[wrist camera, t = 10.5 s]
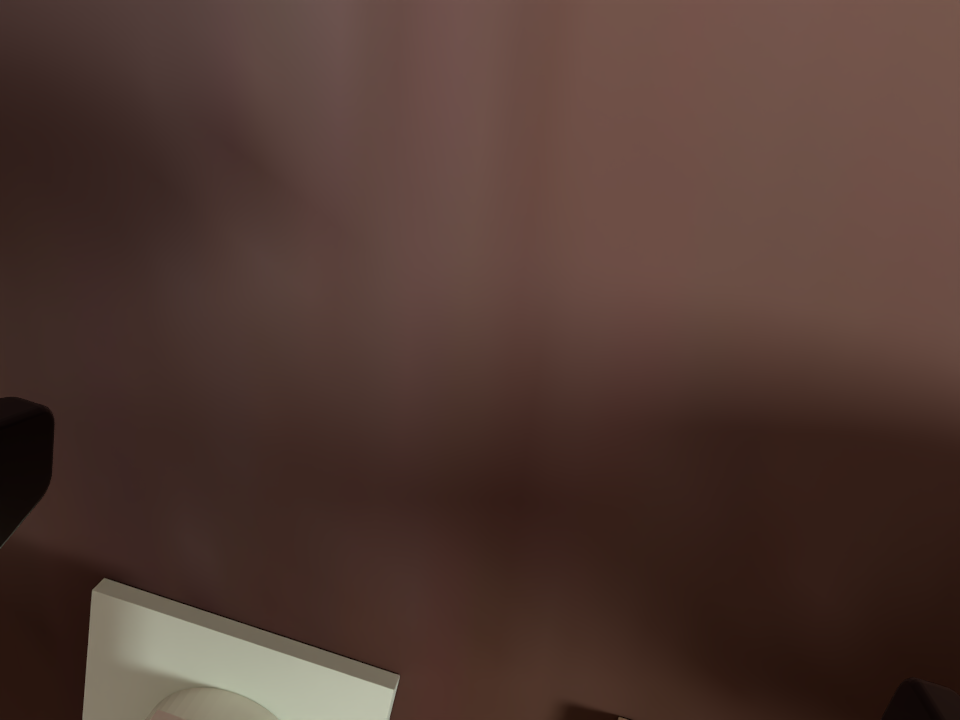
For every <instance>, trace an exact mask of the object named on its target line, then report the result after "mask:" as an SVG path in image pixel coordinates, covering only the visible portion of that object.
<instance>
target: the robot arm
mask: <svg viewBox="0 0 960 720" xmlns="http://www.w3.org/2000/svg"><path fill="white" fill-rule="evenodd" d="M54 425H55V424H54V416H53V413H52V412H51V410H50V409H49V408H48V407H46V406H44V405H41V404H37V403H34V402H31V401H28V400H25V399H21V398H18V397H5V398H0V549H1V547H2V546H3V545H4V544H5V542H6V541H7V540H8V539H9V538H10V536H11V535H12V534H13V533H14V532H15V530H16V529H17V528H18V527H19V525H20V524H21V523H22V522H23V521H24V519H25V518H26V517H27V516H28V515H29V513H30V512H31V511H32V510H33V508H34V507H35V506H36V505H37V504H38V502H39V501H40V500H41V499H42V497H43V496H44V494H45V492H46V491H47V489H48V486H49V484H50V480H51V476H52V464H53V444H54ZM881 720H960V696H959V695H958V694H957V693H956V692H955V691H953V690H951V689H949V688H947V687H944V686H941V685H938V684H935V683H931V682H928V681H925V680H922V679H918V678H914V677H912V678H908V679H905V680H904V681H903V682H902V683H901V684H900V685H899V687H898V688H897V690H896V692H895V693H894V695H893V697H892V699H891V701H890V703H889V705H888V707H887V708H886V710H885V712H884V714H883V716H882V718H881Z"/></svg>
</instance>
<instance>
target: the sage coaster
mask: <svg viewBox="0 0 960 720" xmlns="http://www.w3.org/2000/svg"><path fill="white" fill-rule="evenodd" d="M399 678H400V675H397V674H394V673H391V672H388V671H385V670H382V669H379V668H376V667H373V666H370V665H367V664H364V663H361V662H358V661H355V660H352V659H349V658H346V657H343V656H340V655H337V654H334V653H331V652H328V651H325V650H322V649H318V648H315V647H312V646H309V645H306V644H303V643H300V642H297V641H294V640H291V639H288V638H285V637H282V636H279V635H276V634H273V633H270V632H267V631H264V630H261V629H258V628H255V627H252V626H249V625H246V624H243V623H240V622H236V621H233V620H230V619H227V618H224V617H221V616H218V615H215V614H212V613H209V612H206V611H203V610H200V609H197V608H194V607H191V606H188V605H185V604H182V603H179V602H176V601H173V600H170V599H167V598H164V597H161V596H157V595H154V594H151V593H148V592H145V591H142V590H139V589H136V588H133V587H130V586H127V585H124V584H121V583H118V582H115V581H112V580H109V579H106V578H104V579H103V580H102V581H101V582H100V583H99V584H98V585H97V586H96V587H95V588H94V589H93V590H92V598H91V611H90V625H89V638H88V651H87V665H86V678H85V691H84V705H83V718H82V720H145V719H146V718H147V716H148V715H149V714H150V712H151V711H152V710H153V708H154V707H155V706H156V705H157V704H158V703H159V702H160V701H161V700H163V699H164V698H165V697H167V696H169V695H171V694H173V693H175V692H178V691H181V690H184V689H190V688H201V687H204V688H216V689H221V690H226V691H229V692H233V693H236V694H239V695H241V696H244V697H246V698H248V699H250V700H252V701H254V702H256V703H258V704H259V705H261V706H262V707H264V708H265V709H267V710H268V711H269V712H271V713H272V714H273V715H274V716H276V717H277V718H278V719H279V720H389V718H390V714H391V710H392V706H393V702H394V698H395V694H396V690H397V686H398V682H399Z"/></svg>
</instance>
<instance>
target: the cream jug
mask: <svg viewBox="0 0 960 720" xmlns="http://www.w3.org/2000/svg"><path fill="white" fill-rule="evenodd" d="M145 720H279V719H278V718H277V717H276V716H274V715H273V714H272V713H271V712H269V711H268V710H267V709H265V708H264V707H262V706H261V705H259V704H258V703H256V702H254V701H252V700H250V699H248V698H246V697H244V696H241V695H239V694H236V693H233V692H229V691H226V690H221V689H216V688H204V687H201V688H190V689H184V690H181V691H178V692H175V693H173V694H171V695H169V696H167V697H165V698H164V699H163V700H161V701H160V702H159V703H158V704H157V705H156V706H155V707H154V708H153V710H152V711H151V712H150V714H149V715H148V716H147V718H146V719H145Z"/></svg>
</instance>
